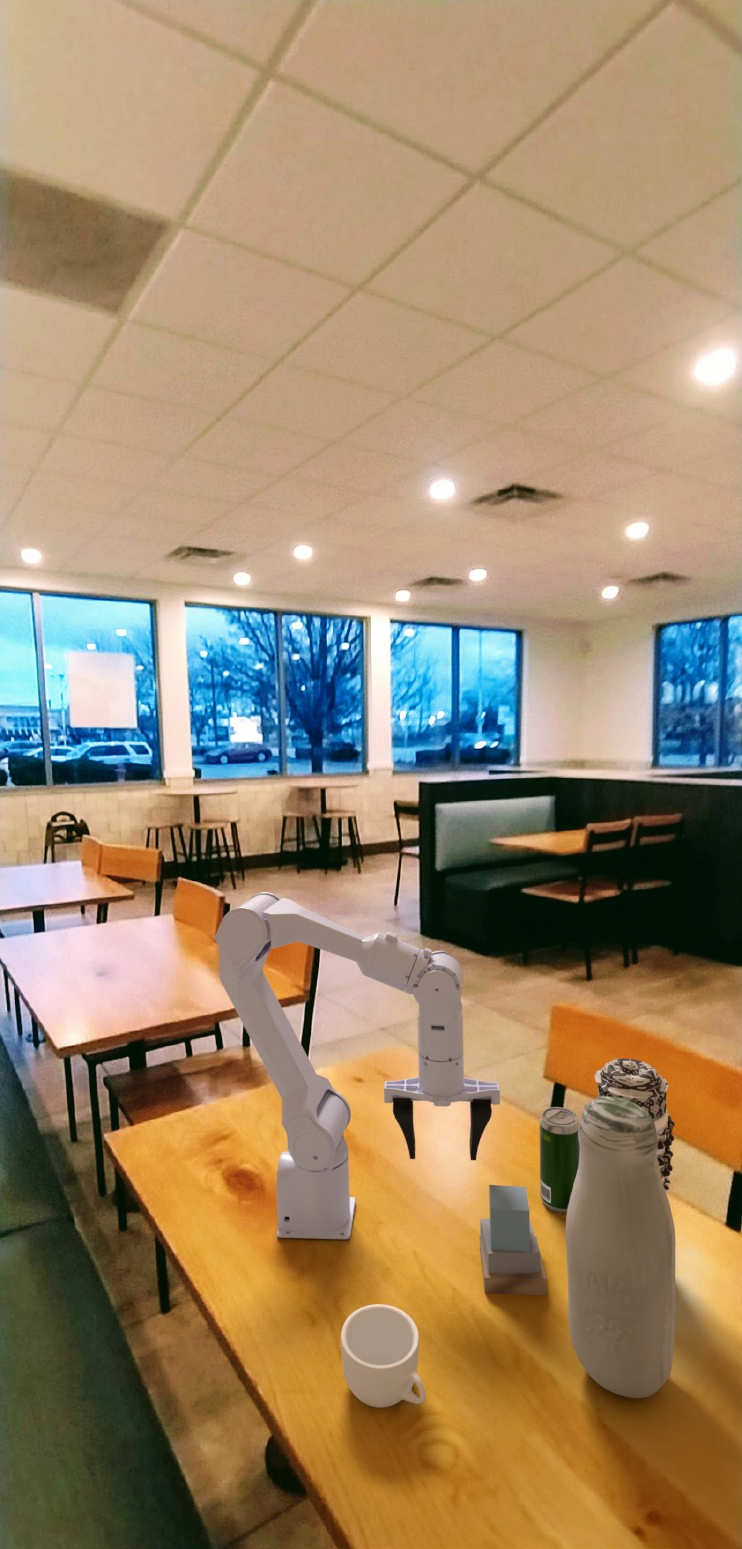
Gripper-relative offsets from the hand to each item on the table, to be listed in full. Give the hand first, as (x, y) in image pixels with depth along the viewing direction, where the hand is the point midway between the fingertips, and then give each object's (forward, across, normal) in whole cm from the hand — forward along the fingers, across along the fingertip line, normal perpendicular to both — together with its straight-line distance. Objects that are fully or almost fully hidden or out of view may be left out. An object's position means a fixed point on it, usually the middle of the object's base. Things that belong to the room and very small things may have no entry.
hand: (442, 1155), depth 94 cm
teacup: (+11, -6, -23) cm, 26 cm away
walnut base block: (+11, +8, -6) cm, 15 cm away
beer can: (+11, +16, +7) cm, 20 cm away
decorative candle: (+11, +22, -6) cm, 25 cm away
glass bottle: (+11, +17, -20) cm, 28 cm away
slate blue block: (+6, +8, -7) cm, 12 cm away
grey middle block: (+8, +8, -6) cm, 13 cm away
